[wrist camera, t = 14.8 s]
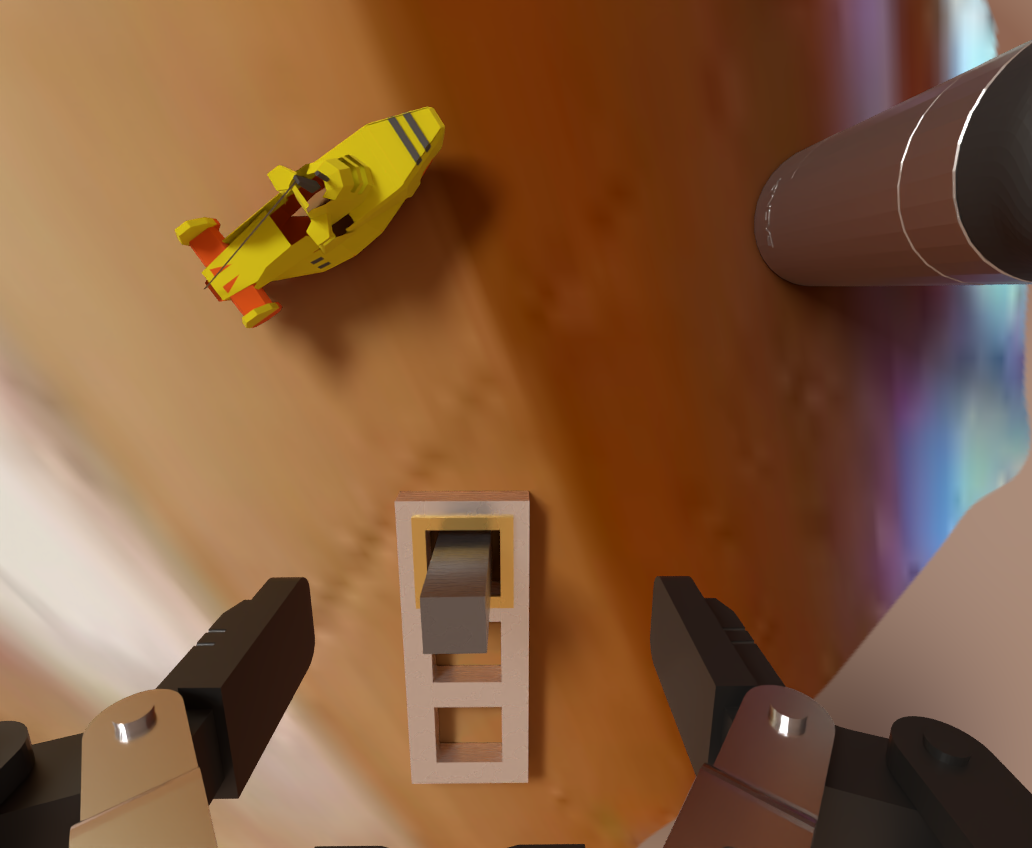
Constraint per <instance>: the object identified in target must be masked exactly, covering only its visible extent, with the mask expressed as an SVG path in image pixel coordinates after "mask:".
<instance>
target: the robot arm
mask: <svg viewBox="0 0 1032 848" xmlns="http://www.w3.org/2000/svg"><path fill="white" fill-rule="evenodd" d="M754 232H755V237H756V242H757V246H758V249H759V251H760V253H761V255H762V258H763V259H764V261H765V262H766V263H767V265H768V266H769V267H770V269H771V270H772V271H774V272H775V273H776V274H777V275H779V276H780V277H781V278H783V279H785V280H787V281H789V282H791V283H793V284H798V285H803V286H933V285H993V284H1032V40H1030V41H1029V42H1026V43H1024V44H1022V45H1020V46H1018V47H1016V48H1014V49H1012V50H1010V51H1007V52H1006V53H1003V54H1001V55H999V56H997V57H995V58H993V59H991V60H989V61H987V62H985V63H983V64H981V65H979V66H977V67H975V68H973V69H971V70H969V71H967V72H965V73H963V74H960V75H958V76H956V77H954V78H952V79H950V80H948V81H946V82H944V83H942V84H940V85H938V86H935V87H933V88H931V89H929V90H927V91H925V92H923V93H921V94H919V95H917V96H915V97H913V98H910V99H908V100H906V101H904V102H902V103H900V104H898V105H896V106H894V107H892V108H890V109H888V110H885V111H883V112H881V113H879V114H877V115H875V116H873V117H871V118H869V119H867V120H865V121H863V122H860V123H858V124H856V125H854V126H852V127H850V128H848V129H846V130H844V131H842V132H840V133H837V134H835V135H833V136H831V137H829V138H827V139H825V140H823V141H821V142H819V143H817V144H815V145H812V146H810V147H808V148H806V149H804V150H802V151H800V152H798V153H796V154H795V155H793V156H792V157H790V158H789V159H788V160H786V161H785V162H783V163H782V164H781V165H780V167H779V168H778V169H777V170H776V171H775V172H774V173H773V174H772V175H771V177H770V178H769V180H768V182H767V183H766V185H765V186H764V188H763V190H762V193H761V195H760V198H759V200H758V203H757V208H756V213H755V231H754ZM650 643H651V653H652V659H653V663H654V666H655V669H656V671H657V674H658V677H659V679H660V682H661V684H662V687H663V690H664V692H665V695H666V698H667V700H668V703H669V706H670V708H671V711H672V713H673V716H674V719H675V721H676V724H677V727H678V729H679V732H680V735H681V737H682V740H683V742H684V745H685V748H686V750H687V753H688V756H689V758H690V761H691V764H692V766H693V769H694V771H695V774H696V779H695V781H694V783H693V785H692V787H691V789H690V791H689V794H688V796H687V798H686V800H685V802H684V804H683V806H682V808H681V810H680V813H679V815H678V817H677V819H676V821H675V823H674V825H673V827H672V829H671V832H670V834H669V836H668V838H667V840H666V842H665V845H664V846H663V848H1032V794H1031V793H1030V792H1029V791H1028V790H1027V789H1026V788H1025V787H1024V786H1023V785H1022V784H1021V782H1019V780H1018V779H1017V778H1015V776H1014V775H1013V774H1012V773H1011V772H1010V771H1009V770H1008V769H1007V768H1006V767H1005V766H1004V765H1003V764H1002V763H1001V762H1000V761H999V760H998V759H997V758H996V757H995V756H994V755H993V753H991V752H990V751H989V750H988V749H987V748H986V747H985V746H984V745H983V744H981V743H980V742H979V741H977V740H976V739H974V738H973V737H971V736H970V735H968V734H966V733H965V732H963V731H961V730H959V729H957V728H955V727H953V726H951V725H949V724H946V723H943V722H941V721H937V720H934V719H930V718H925V717H917V716H908V717H903V718H900V719H898V720H897V721H895V722H894V723H893V725H892V727H891V732H890V737H889V739H887V738H883V737H879V736H874V735H870V734H866V733H862V732H857V731H853V730H849V729H845V728H842V727H839V726H836V725H834V723H833V720H832V718H831V717H830V715H829V714H828V713H827V711H826V710H825V709H824V708H823V707H822V706H821V705H819V704H818V703H817V702H816V701H814V700H813V699H811V698H810V697H808V696H806V695H805V694H803V693H801V692H798V691H796V690H793V689H790V688H787V687H785V685H784V684H783V682H782V681H781V679H780V678H779V676H778V675H777V674H776V672H775V671H774V669H773V668H772V666H771V665H770V663H769V662H768V661H767V659H766V658H765V656H764V655H763V653H762V652H761V650H760V649H759V648H758V646H757V645H756V644H754V640H753V639H752V637H751V636H750V634H749V633H748V632H747V631H745V627H744V626H743V624H742V623H741V621H740V620H739V619H738V617H737V616H736V614H735V613H734V612H733V611H732V610H731V609H729V608H728V607H727V606H725V605H724V604H722V603H721V602H720V601H718V600H717V599H716V598H704V597H703V596H702V594H701V593H700V591H699V589H698V588H697V586H696V585H695V583H694V581H693V580H692V578H691V577H689V576H657V577H656V579H655V582H654V590H653V605H652V619H651V634H650ZM314 646H315V634H314V625H313V616H312V606H311V597H310V588H309V583H308V581H307V579H306V578H304V577H281V578H270V579H269V580H268V581H267V582H266V583H265V584H264V585H263V587H262V588H261V589H260V590H259V591H258V593H257V594H256V595H255V596H254V597H253V599H252V600H243V601H242V602H240V603H239V604H237V605H236V606H234V607H232V608H231V609H229V610H228V611H226V612H225V613H223V614H222V615H221V616H220V617H219V619H218V620H217V621H216V622H215V623H214V624H213V625H212V626H211V627H210V629H209V632H208V633H205V634H204V635H203V636H202V638H201V639H200V640H199V641H198V642H197V646H194V647H193V648H192V649H191V650H190V651H189V652H188V653H187V654H186V655H185V657H184V658H183V659H182V660H181V661H180V662H179V663H178V664H177V666H176V667H175V668H174V669H173V670H172V671H171V672H170V673H169V675H168V676H167V677H166V678H165V679H164V680H163V681H162V682H161V684H160V685H159V686H158V687H157V688H156V689H154V690H148V691H143V692H140V693H137V694H133V695H131V696H128V697H126V698H124V699H122V700H120V701H118V702H116V703H114V704H113V705H111V706H109V707H108V708H106V709H105V710H104V711H102V712H101V713H100V714H99V715H97V716H96V717H95V718H94V719H93V720H92V721H91V722H90V723H89V725H88V726H87V728H86V729H85V731H84V733H81V734H77V735H72V736H68V737H64V738H60V739H55V740H51V741H47V742H42V743H38V744H34V745H32V744H31V741H30V737H29V733H28V730H27V727H26V726H25V725H24V724H22V723H20V722H16V721H1V722H0V848H218V846H217V841H216V837H215V832H214V828H213V824H212V819H211V815H210V810H209V805H210V803H211V802H212V800H213V799H238V798H239V797H240V795H241V793H242V791H243V789H244V787H245V785H246V783H247V782H248V780H249V778H250V776H251V774H252V772H253V770H254V769H255V767H256V765H257V763H258V761H259V759H260V757H261V756H262V754H263V752H264V750H265V748H266V746H267V744H268V743H269V741H270V739H271V737H272V735H273V733H274V731H275V730H276V728H277V726H278V724H279V722H280V720H281V718H282V717H283V715H284V713H285V711H286V709H287V707H288V705H289V703H290V702H291V700H292V698H293V696H294V694H295V692H296V690H297V689H298V687H299V685H300V683H301V681H302V679H303V677H304V676H305V674H306V672H307V670H308V668H309V666H310V664H311V661H312V657H313V653H314ZM315 848H387V847H383V846H323V847H315ZM509 848H585V844H550V845H516V846H512V847H509Z"/></svg>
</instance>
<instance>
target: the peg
mask: <svg viewBox="0 0 1032 848" xmlns="http://www.w3.org/2000/svg"><path fill="white" fill-rule="evenodd" d="M491 585H492V536H491V530H440V531H439V535H438V538H437V541H436V545H435V548H434V551H433V555H432V558H431V561H430V564H429V568H428V571H427V574H426V578H425V581H424V584H423V588H422V591H421V594H420V612H421V627H422V643H423V654H463V653H487V643H488V629H489V614H490V600H491Z"/></svg>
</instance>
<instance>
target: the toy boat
mask: <svg viewBox="0 0 1032 848" xmlns="http://www.w3.org/2000/svg"><path fill="white" fill-rule="evenodd" d="M444 133H445V126H444V124H443V122H442V121H441V119H440V118H439V116H438V114H437V113H436V111H435V110H434V108H432V107H424V108H421V109H417V110H414V111H410V112H405V113H402V114H400V115H396V116H391V117H390V118H389V117H388V118H386V119H383V120H379V121H376V122H372V123H369V124H366V125H365V126H364V127H362V128H361V129H359V130H358V131H357V132H355V133H354V134H352V135H351V136H350V137H348V138H347V139H346V140H344V141H343V142H341V143H340V144H339V145H337V146H336V147H335V148H333V149H332V150H330V151H329V152H328V153H326V154H325V155H324V156H322V157H321V158H319V159H318V160H317V161H315V162H314V163H310V164H306V165H304V166H303V167H302V168H300V169H299V170H297V171H293V170H291V169H288V168H286V167H284V166H281V165H278V166H277V167H276V168H274V169H273V170H272V171H271V172H269V173H268V174H267V175H268V177H269V178H270V180H271V182H272V183H273V185H274V187H275V189H276V190H277V191H279V192H280V193H279V194H277V195H276V196H275V197H274V198H273V199H271V200H270V201H269V202H268V203H267V204H265V205H264V206H263V207H262V208H261V209H259V210H258V211H257V212H256V213H255V214H253V215H252V216H251V217H250V218H249V219H247V220H246V221H245V222H244V223H243V224H241V225H240V226H239V227H238V228H237V229H236V230H234V231H233V232H232V233H231V234H230V235H228V236H227V237H226V238H224V237H223V236H222V234H221V233H220V232H219V228H220V223H219V222H218V221H217V219H213V218H206V217H203V218H198V219H193V220H188V221H185V222H184V223H183V224H182V225H180V226H179V227H178V228H176V229H175V232H176V235H177V238H178V240H179V241H180V242H181V244H182V245H188V246H191V248H192V249H193V250H194V252H195V253H196V255H197V256H198V257H199V259H200V260H201V261H202V263H203V264H204V265H205V267H206V269H205V270H204V271H203V272H202V274H203V275H204V276H205V278H206V279H207V280H206V282H205V284H206V285H207V286H206V287H205V288H204V289H206V288H207V287H208V288H209V289H210V290H211V292H212V293H213V294H214V295H215V297H216V298H217V299H218V301H227V300H232V302H233V303H234V304H235V305H236V307H237V308H238V309H239V311H240V312H241V313H242V314H243V316H244V317H242V322H243V324H244V325H245V327H246V328H253V327H257V326H258V325H260V324H262V323H264V322H266V321H267V320H269V319H270V318H271V317H273V316H274V315H276V314H277V313H278V312H279V311H280V310H281V308H282V306H281V305H280V303H279V302H274V303H272V302H271V300H270V299H269V297H268V296H267V294H266V293H265V291H264V290H263V288H262V287H263V286H265V285H266V284H268V283H269V282H271V281H276V280H282V279H287V278H292V277H298V276H303V275H309V274H314V273H320V272H325V271H327V270H329V269H331V268H333V267H335V266H337V265H339V264H341V263H343V262H344V261H346V260H348V259H350V258H352V257H354V256H356V255H357V254H358V253H360V252H361V251H362V250H363V249H364V248H365V247H366V246H368V245H369V244H370V243H371V242H372V241H373V240H374V239H376V238H377V237H378V236H379V235H380V234H381V233H383V231H384V230H385V228H386V227H387V225H388V224H389V223H390V221H391V220H392V218H393V217H394V215H395V214H396V212H397V211H398V209H399V208H400V207H401V205H402V204H403V202H404V201H405V199H406V198H409V197H412V196H413V194H414V193H415V191H416V190H417V188H418V187H419V185H420V184H421V178H422V176H423V175H424V173H425V171H426V170H427V168H428V167H429V165H430V164H431V162H432V160H433V158H434V157H435V156H436V154H437V153H438V152H439V151H440V149H441V148H442V144H443V139H444ZM404 181H405V182H404ZM323 188H326V192H325V194H324V196H323V198H328V199H332V200H331V201H329V202H328V203H327V204H325V205H323V206H320V207H317V208H315V209H312V210H311V211H310V212H309V213H308V212H307V210H306V209H307V207H308V206H309V204H308V203H307V201H308V200H309V199H310V198H311V197H312V196H313V195H315V194H316V193H317V192H319V191H320V190H322V189H323ZM300 207H303V209H304V210H305V212H306V213H307V214H308V216H309V217H310V219H311V220H310V219H309V217H308V216H292V215H293V214H294V213H295V212H296V211H297V210H298V209H299V208H300ZM348 213H349V215H350V216H351V218H352V219H353V221H354V222H355V223H353V224H352V225H351V226H350V227H348V228H347V229H346V231H347V232H346V233H345V234H344V235H342V236H339V237H336V236H335V234H334V233H333V232H332V225H333V224H335V223H336V222H337V221H339V220H340V219H341V218H343V217H344V216H345V215H347V214H348ZM291 216H292V217H291Z"/></svg>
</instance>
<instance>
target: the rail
mask: <svg viewBox="0 0 1032 848" xmlns="http://www.w3.org/2000/svg"><path fill="white" fill-rule="evenodd" d="M529 511H530V500H529V491H400V493H399V495H398V496H397V498H396V500H395V514H396V530H397V547H398V563H399V580H400V596H401V612H402V629H403V645H404V662H405V678H406V695H407V711H408V727H409V744H410V760H411V777H412V784H427V783H528V704H529ZM430 530H500V572H501V581H492V585H491V600H490V614H489V622H501V665H478V666H436V654H423V643H422V627H421V612H420V594H421V591H422V588H423V584H424V581H425V578H426V574H427V571H428V568H429V564H430V561H431V536H430ZM438 707H502V743H440V740H439V717H438Z"/></svg>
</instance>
